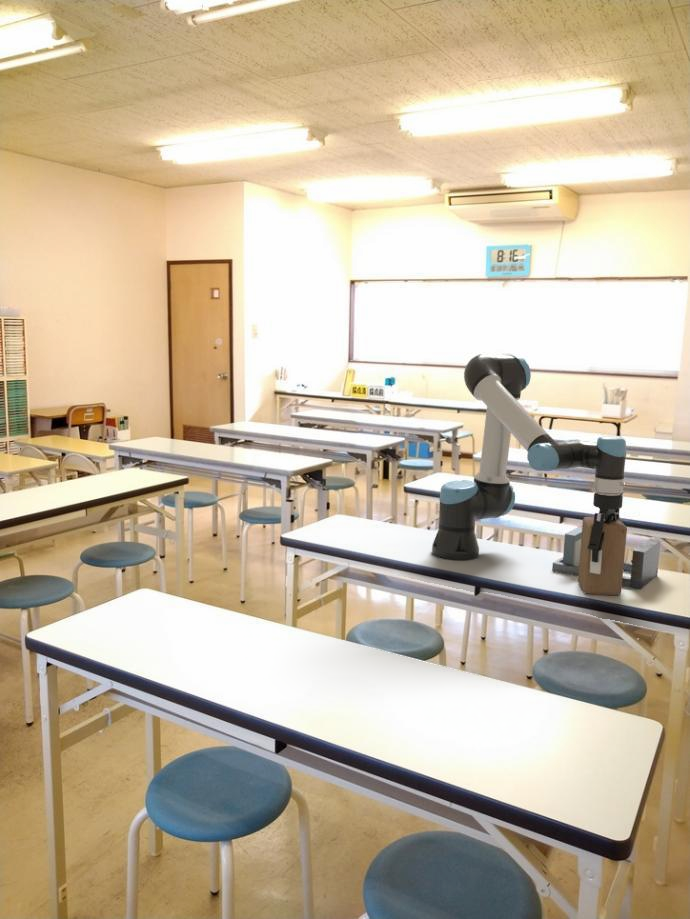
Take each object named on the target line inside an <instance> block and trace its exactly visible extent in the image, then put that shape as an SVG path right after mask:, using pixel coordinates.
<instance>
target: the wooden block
mask: <svg viewBox="0 0 690 919" xmlns="http://www.w3.org/2000/svg"><path fill="white" fill-rule="evenodd" d="M616 519H617V518H616ZM593 523H594V516H584V517H583V518H582V525H581V528H582V536H581V549H580V561H579V573H578V576H577V582H578V584H579V586H580V588H581V589H582V590H583V592H584V593H585V594H588V595H603V596H621V595H622V587H623V586H622V578H623V576H624V571H623V568H624V561H625V554H626V546H627V545H626V544H627V533H628V528H627V525H625V524H624V523H623V522H622V521H621V519H620V520H619V519H617V520H616V521H612V522H611V523H610V524H607V523H604V526H603V531H602V533H603V532H605V533H604V540H603V544H602V547H601V550H602V559H601V574H596V573H590V560H591V549H588V545H589V541H590V536H591V532H592V527H593Z"/></svg>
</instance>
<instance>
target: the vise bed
mask: <svg viewBox="0 0 690 919" xmlns="http://www.w3.org/2000/svg"><path fill="white" fill-rule="evenodd" d="M661 542H662V540H661V539H655V538H649V539H647V540H646V541H644V542H643V543H642V544H640V545H638V546H637V547H636V548H634V549H632V559H631V561H630V562H629V561H625V560H624V568H623V570H625V571H624V572H627V571H629V573H630V576H626V575H623V578H622V587H625V588H629V589H634V590H635V589H636V590H639V591H641V590H643V588H645V587H646V586H647V585H648V584H650V583H651V582H652V581H653V580H654V579H655V578H656V577H657V576H658V572H659V562H660V561H659V560H660V553H661V551H660V550H661ZM551 568H552V569H551V571H553V572H558V573H562V574H567V575H571V576H576V577H578V573H579V566H574V565H570V564H565V563H563V557H560V558H559V559H557V560H556V561H554V562H552V567H551Z"/></svg>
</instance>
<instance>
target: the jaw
mask: <svg viewBox="0 0 690 919" xmlns="http://www.w3.org/2000/svg"><path fill="white" fill-rule="evenodd" d="M581 536H582V527H579V526H577V527H575V528H573V529H572V530H570V531H568V532H566V533H565V534H564V542H563V553H562V554H563V555H562V556H563V563H565V564H570V565H574V566H579V561H580V549H581Z"/></svg>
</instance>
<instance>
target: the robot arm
mask: <svg viewBox="0 0 690 919" xmlns="http://www.w3.org/2000/svg"><path fill="white" fill-rule="evenodd" d="M531 376H532V375H531V368H530V366H529V363H527V361H526V359H525V358H524V357H522V356H520V355H517V354H511V353H481V354H478V355H475V356H474V357H472V358H471V359H470V360H469V361H468V362H467V364H466V365H465V368H464V372H463V378H464V380H463V381H464V384H465V386H466V388H467V390H468V391H469V393H470V394H471V395H472V396H473V397H474V399H476V400H477V401H482V402H483V404H484V405H485V407H486V412H485V413H486V414H485V421H484V427H483V428H484V429H483V430H484V431H483V438H482V439H483V440H482V446H481V455H480V456H481V457H480V463H479V464H480V466H479V471H478V472H477V473H476V474H475V475H474V477H473V480H465V479H464V480H463V479H462V480H453V481H448V482H446V483H444V484H443V485H442V486H441V488H440V491H439V492H440V494H439V499H438V500H439V506H438V507H439V511H438V512H439V513H438V529H437V532H436V535H435V538H434V540H433V542H432V546H431V547H432V548H431V553H432V554H433V555H435V556H436V557H439V558H442V559H445V560H446V559H447V560H453V561H461V560H462V561H468V560H473V559H476V558H478V557H479V555H480V547H479V543H478V540H477V535H476V533H475V532H476V531H475V530H476V521H478V520H479V521H480V520H486V519H497V518H500V517H503V516H506V515H508V514H509V513H510V512H511V511H512V509H513V507H514V505H515V502H516V492H515V491H514V487H513V486H512V484H510V483H511V482H510V481H511V480H510V478H509V477H508V476H507V468H508V460H509V451H510V444H511V437H512V436H513V437H514V438H515V439H516V441H517V442H518V443H519V444H520V445H521V446H522V447H523V448H524V449H525V450H526V451H527V458H526V459H527V461H528V465H529V466H530V468H531V469H533V470H535V471H538V472H551V471H557V470H567V469H577V468H584V469H590V470H594V471H595V472H594V474H595V475H594V483H593V484H594V485H593V490H594V492H595V493H593V502H592V504H593V506H594V507H596V508H598V509H599V512H595V513H594V516H593V517H594V523H593V527H592V532H591V536H590V541H589V545H588V549H591V560H590V573H596V574H601V559H602V550H601V547H602V544H603V540H604V533H605V532H603V533H602V531H603V526H604V523H607V524H610V523H611V522H612V521H616V520H617V519H619V520H620V521H621V519H620V518H621V517H620V509H621V508H622V507H623V501H624V500H623V498H624V496H623V494H622V493H623V492H624V487H626V483H625V482H624V481H625V475H624V474H625V468H626V467H625V465H626V458H627V442H626V439H624V437H619V436H599V437H598V438H597V440H596V441H597V442H592V441H586V440H580V439H566V440H564V441H560V442H557V441H556V440H555V439H554V438H553V437H552V436H550V434H549V433H548V432H547V431H546V430H545V429H544V428H543V427H542V426H541V425H540V424H539V422H538V421H537V420H536V419H535V418H534V417H533V416H532V415H531V413H529V411H527V410H526V409H525V407H524V406H523V405H522V404H521V403H520V402H519V400H520V399H521V395H522V391H523V390H525V389H526V388H527V387H528V386H529V384H530V382H531V378H532V377H531ZM616 518H617V519H616Z"/></svg>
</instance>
